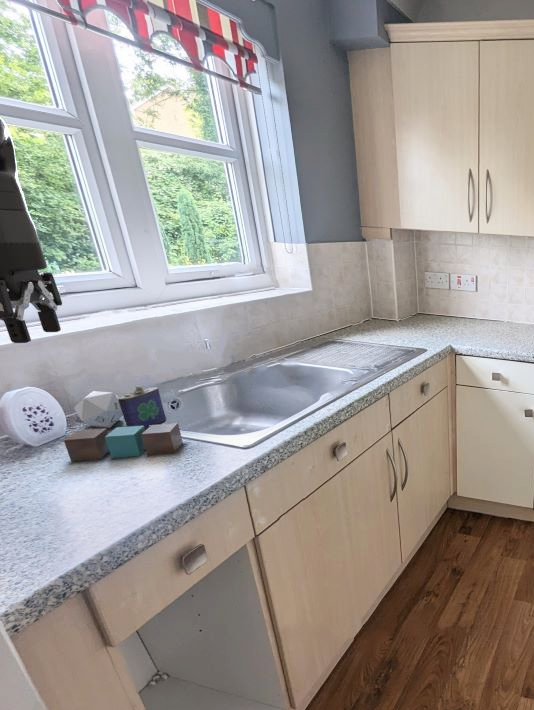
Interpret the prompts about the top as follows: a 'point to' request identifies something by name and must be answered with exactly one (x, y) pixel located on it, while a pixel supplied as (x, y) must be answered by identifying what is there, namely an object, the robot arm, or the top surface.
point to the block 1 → (87, 445)
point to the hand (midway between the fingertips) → (38, 336)
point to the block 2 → (162, 438)
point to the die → (99, 409)
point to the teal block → (126, 441)
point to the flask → (142, 407)
